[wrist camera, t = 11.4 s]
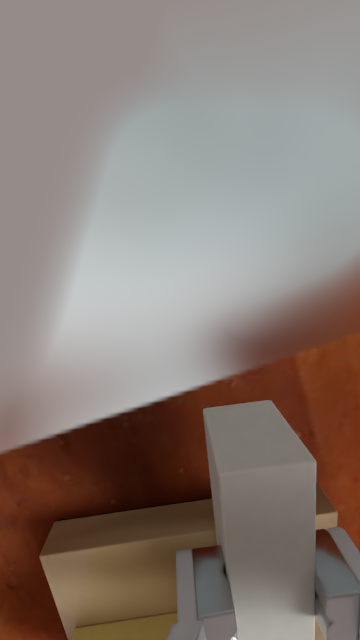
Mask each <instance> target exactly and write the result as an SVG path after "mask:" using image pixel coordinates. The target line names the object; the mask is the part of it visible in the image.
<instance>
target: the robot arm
mask: <svg viewBox="0 0 360 640" xmlns="http://www.w3.org/2000/svg"><path fill="white" fill-rule="evenodd" d="M176 584H177V623H175V624H172V626H171V629H170V631H169V634H168V636H167V639H166V640H238V636H237V624H236V615H235V609H234V604H233V598H232V593H231V587H230V583H229V581H228V578H227V577H226V570H225V562H224V556H223V551H222V546H221V545H215V546H208V547H201V548H194V549H192V548H191V549H185V550H179V551H177V552H176ZM314 588H315V618H316V620H317V622H318V625H319V627H320V630H321V632H322V634H323V637H324V639H325V640H360V552H359V551H358V549H357V548H356V546H355V545H354V543H353V542H352V540H351V539H350V537H349V536H348V534H347V533H346V531H345V530H344V529H343V528H342V527H333V528H327V529H318V530H316V547H315V584H314Z"/></svg>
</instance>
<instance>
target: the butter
mask: <svg viewBox="0 0 360 640" xmlns="http://www.w3.org/2000/svg"><path fill="white" fill-rule="evenodd" d="M175 623H177V612H175V613H168V614H162V615H155V616H149V617H142V618H135V619H129V620H122V621H116V622H109V623H103V624H96V625H90V626H83V627H77V628H75V629H74V632H73V636H72V640H166V639H167V636H168V634H169V631H170V629H171V626H172V624H175Z"/></svg>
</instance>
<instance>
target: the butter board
mask: <svg viewBox="0 0 360 640" xmlns="http://www.w3.org/2000/svg"><path fill="white" fill-rule="evenodd" d="M333 527H337V511H336V509H335V508H334V506H333V505H332V504H331V502H330V501H329V499H328V498H327V496H326V495H325V493H324V492H323V490H322V489H321V487H320V486H319V484H318V483H316V530H318V529H327V528H333ZM215 545H217V538H216V528H215V519H214V510H213V500H212V499H205V500H198V501H192V502H185V503H178V504H171V505H164V506H158V507H151V508H144V509H137V510H130V511H124V512H117V513H110V514H103V515H96V516H90V517H83V518H76V519H69V520H62V521H56V522H54V524H53V526H52V528H51V530H50V533H49V535H48V537H47V539H46V542H45V544H44V546H43V549H42V551H41V553H40V556H39V558H40V561H41V563H42V566H43V569H44V572H45V575H46V578H47V581H48V584H49V586H50V589H51V592H52V595H53V598H54V601H55V604H56V606H57V609H58V612H59V615H60V618H61V621H62V624H63V627H64V629H65V632H66V635H67V638H68V640H72V636H73V632H74V629H75V628H77V627H83V626H90V625H96V624H103V623H109V622H116V621H122V620H129V619H135V618H142V617H149V616H155V615H162V614H168V613H175V612H177V584H176V552H177V551H179V550H185V549H191V548H192V549H194V548H201V547H208V546H215ZM315 640H325V639H324V637H323V634H322V632H321V630H320V627H319V625H318V622H317V620H316V618H315Z"/></svg>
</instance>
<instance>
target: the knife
mask: <svg viewBox="0 0 360 640" xmlns="http://www.w3.org/2000/svg"><path fill="white" fill-rule="evenodd" d="M203 417H204V426H205V435H206V445H207V454H208V463H209V473H210V482H211V491H212V500H213V510H214V519H215V528H216V538H217V545H221V546H222V551H223V556H224V562H225V570H226V577H227V578H228V581H229V583H230V587H231V593H232V598H233V604H234V609H235V615H236V624H237V636H238V640H315V588H314V584H315V547H316V461H315V459H314V458H313V456H312V455H311V454H310V452H309V451H308V450H307V448H306V447H305V446H304V444H303V443H302V441H301V440H300V439H299V437H298V436H297V435H296V433H295V432H294V431H293V429H292V428H291V427H290V425H289V424H288V423H287V421H286V420H285V419H284V417H283V416H282V415H281V413H280V412H279V411H278V409H277V408H276V406H275V405H274V404H273V402H272V401H271V400H265V401H257V402H250V403H242V404H234V405H226V406H219V407H211V408H204V409H203Z"/></svg>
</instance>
